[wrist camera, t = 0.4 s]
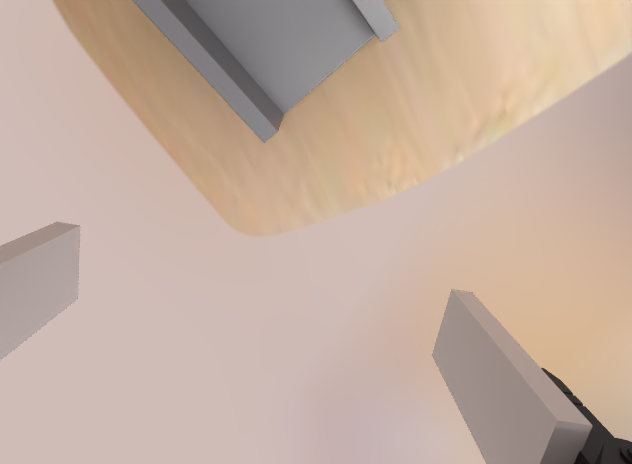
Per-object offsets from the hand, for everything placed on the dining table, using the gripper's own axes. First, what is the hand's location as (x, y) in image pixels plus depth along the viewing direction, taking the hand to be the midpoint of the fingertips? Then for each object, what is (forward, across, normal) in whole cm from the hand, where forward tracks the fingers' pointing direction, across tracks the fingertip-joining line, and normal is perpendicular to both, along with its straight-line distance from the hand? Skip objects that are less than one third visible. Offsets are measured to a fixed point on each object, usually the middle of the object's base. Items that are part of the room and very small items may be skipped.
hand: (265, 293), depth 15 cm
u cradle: (+24, -4, +14) cm, 28 cm away
